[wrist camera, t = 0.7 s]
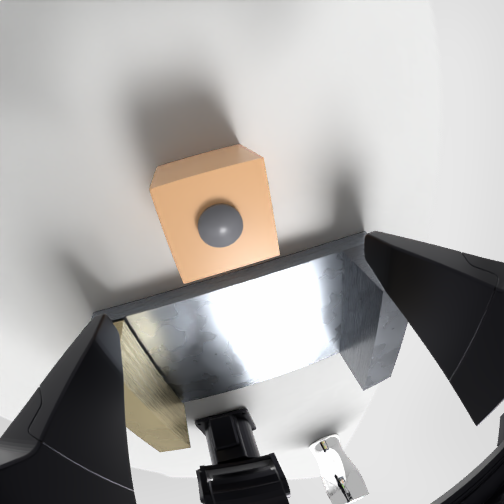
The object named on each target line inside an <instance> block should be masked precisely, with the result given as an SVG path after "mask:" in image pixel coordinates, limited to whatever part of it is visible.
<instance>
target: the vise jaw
mask: <svg viewBox="0 0 504 504" xmlns="http://www.w3.org/2000/svg"><path fill="white" fill-rule="evenodd" d="M113 324H114V326H115V327H116V329H117V330H118V332H119V335H120V344H121V355H122V365H123V374H124V402H125V420H126V427H127V428H128V429H130V430H131V431H132V432H133V433H135V434H136V435H137V436H139V437H140V438H141V439H143V440H144V441H145V442H147V443H148V444H149V445H151V446H152V447H153V448H155V449H156V450H158V451H159V452H165V451H172V450H178V449H184V448H190V441H189V435H188V428H187V422H186V415H185V407H184V404H183V403H182V401H181V400H180V399H179V398H178V397H177V395H176V394H175V393H174V391H173V390H172V389H171V388H170V386H169V385H168V384H167V382H166V381H165V380H164V378H163V377H162V376H161V374H160V373H159V372H158V370H157V369H156V368H155V366H154V365H153V363H152V362H151V361H150V359H149V358H148V356H147V355H146V353H145V352H144V350H143V349H142V348H141V346H140V345H139V343H138V342H137V340H136V339H135V337H134V335H133V334H132V332H131V331H130V329H129V328H128V326H127V324H126V323H125V321H124V320H122V321H118V322H114V323H113Z"/></svg>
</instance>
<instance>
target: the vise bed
mask: <svg viewBox="0 0 504 504" xmlns="http://www.w3.org/2000/svg"><path fill="white" fill-rule="evenodd" d="M366 234H367V233H366V232H365V231H364V232H361V233H358V234H355V235H351V236H348V237H345V238H342V239H339V240H336V241H333V242H329V243H326V244H323V245H320V246H317V247H314V248H310V249H307V250H304V251H301V252H298V253H294V254H291V255H288V256H285V257H281V258H278V259H275V260H272V261H268V262H265V263H262V264H259V265H255V266H252V267H249V268H246V269H242V270H239V271H236V272H232V273H229V274H226V275H222V276H219V277H216V278H212V279H209V280H206V281H202V282H199V283H196V284H192V285H189V286H185V287H182V288H179V289H175V290H172V291H168V292H165V293H161V294H158V295H155V296H151V297H148V298H144V299H141V300H137V301H134V302H130V303H127V304H123V305H120V306H116V307H113V308H109V309H106V310H102V311H98V312H95V313H93V316H92V319H93V318H94V317H95V316H97V315H100V314H107V315H108V316H109V318H110V319H111V321H112V322H113V323H114V322H118V321H122V320H124V321H125V323H126V324H127V326H128V328H129V329H130V331H131V332H132V334H133V335H134V337H135V339H136V340H137V342H138V343H139V345H140V346H141V348H142V349H143V350H144V352H145V353H146V355H147V356H148V358H149V359H150V361H151V362H152V363H153V365H154V366H155V368H156V369H157V370H158V372H159V373H160V374H161V376H162V377H163V378H164V380H165V381H166V382H167V384H168V385H169V386H170V388H171V389H172V390H173V391H174V393H175V394H176V395H177V397H178V398H179V399H180V400H181V401H182V403H183V402H187V401H192V400H196V399H200V398H204V397H208V396H212V395H216V394H220V393H224V392H227V391H231V390H235V389H238V388H242V387H245V386H248V385H252V384H255V383H258V382H261V381H264V380H267V379H270V378H273V377H276V376H279V375H282V374H285V373H288V372H291V371H294V370H296V369H299V368H302V367H304V366H307V365H310V364H312V363H315V362H317V361H320V360H322V359H325V358H327V357H330V356H332V355H335V354H337V353H339V352H340V354H341V356H342V357H343V359H344V360H345V362H346V364H347V365H348V367H349V368H350V370H351V372H352V373H353V375H354V376H355V378H356V380H357V381H358V383H359V384H360V386H361V388H362V389H363V391H364V390H366V389H368V388H370V387H372V386H374V385H376V384H378V383H380V382H381V381H383V380H385V379H387V378H389V377H391V374H392V371H393V368H394V365H395V362H396V359H397V356H398V353H399V350H400V347H401V344H402V340H403V337H404V334H405V330H406V327H407V323H408V321H407V319H406V318H405V317H404V315H403V314H402V313H401V311H400V310H399V309H398V307H397V306H396V305H395V303H394V302H393V301H392V300H391V298H390V297H389V296H388V294H387V293H386V291H385V290H384V288H383V287H382V285H381V284H380V282H379V281H378V279H377V277H376V276H375V274H374V273H373V271H372V270H371V268H370V267H369V265H368V263H367V262H366V260H365V257H364V238H365V235H366ZM92 319H91V320H92Z"/></svg>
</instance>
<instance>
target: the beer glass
mask: <svg viewBox="0 0 504 504" xmlns="http://www.w3.org/2000/svg"><path fill="white" fill-rule="evenodd" d="M309 448H310V450H311V452H312V453H313V454H314V456H315V457H316V459H317V461H318V464H319V467H320V472H321V476H322V481H323V484H324V487H325V490H326V493H327V495H328V496H329V499H330V500H331V502H332V504H349V503H351V502H353V501H355V500H358V499H360V498H362V497H364V496H366V495H368V494H369V493H368V490H367V488H366V485H365V483H364V480H363V478H362V476H361V474H360V473H359V471H358V470H357V468H356V467H355V465H354V464H353V463H352V462H351V461H350V459H349V458H348V457H347V455H346V454H345V452H344V451H343V449H342V447H341V443H340V440H339V436H338V435H337V434H333V435H329V436H326V437H323V438H321V439H319V440H317V441H315V442H314V443H313V444H311V445H310V447H309Z"/></svg>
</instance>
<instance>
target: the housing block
mask: <svg viewBox="0 0 504 504" xmlns="http://www.w3.org/2000/svg"><path fill="white" fill-rule="evenodd" d="M149 190H150V193H151V196H152V199H153V202H154V205H155V208H156V211H157V214H158V217H159V220H160V223H161V226H162V228H163V231H164V234H165V237H166V239H167V242H168V245H169V247H170V250H171V253H172V255H173V258H174V261H175V263H176V266H177V268H178V271H179V273H180V276H181V278H182V281H183V283H184V284H186V283H189V282H192V281H196V280H199V279H202V278H206V277H209V276H213V275H216V274H219V273H223V272H226V271H229V270H233V269H236V268H239V267H243V266H246V265H249V264H252V263H256V262H259V261H262V260H266V259H269V258H272V257H275V256H279V255H280V251H279V245H278V239H277V233H276V227H275V221H274V215H273V209H272V203H271V197H270V191H269V186H268V180H267V174H266V169H265V163H264V158H263V157H262V156H260V155H258V154H256V153H255V152H253V151H251V150H250V149H248V148H246V147H244V146H242V145H241V144H237V145H233V146H228V147H224V148H220V149H216V150H213V151H209V152H205V153H201V154H198V155H194V156H191V157H187V158H184V159H180V160H177V161H174V162H170V163H167V164H164V165H161V166H158V167H157V168H156V171H155V174H154V177H153V180H152V182H151V185H150V188H149Z"/></svg>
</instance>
